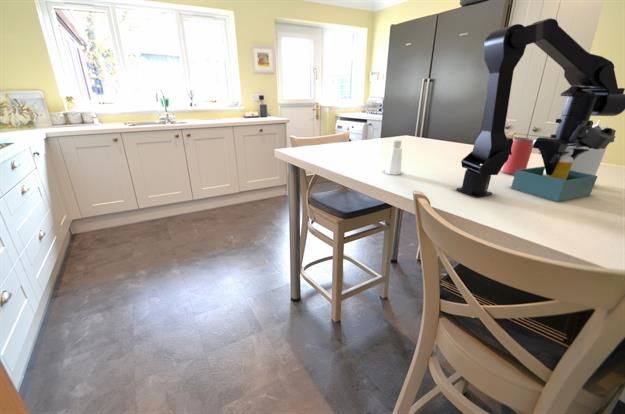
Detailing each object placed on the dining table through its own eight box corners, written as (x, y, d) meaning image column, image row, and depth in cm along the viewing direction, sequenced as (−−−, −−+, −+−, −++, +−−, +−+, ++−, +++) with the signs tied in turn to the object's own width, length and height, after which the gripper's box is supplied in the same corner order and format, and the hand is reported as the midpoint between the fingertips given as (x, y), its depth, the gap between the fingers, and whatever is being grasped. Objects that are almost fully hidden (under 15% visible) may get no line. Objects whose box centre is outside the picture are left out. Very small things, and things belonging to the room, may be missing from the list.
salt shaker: (398, 170, 100) (402, 139, 95) (403, 174, 95) (408, 141, 90) (383, 170, 99) (386, 138, 95) (387, 174, 94) (391, 141, 90)
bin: (557, 202, 73) (564, 181, 71) (510, 188, 83) (516, 169, 81) (589, 195, 79) (597, 176, 77) (542, 182, 89) (548, 165, 87)
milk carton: (559, 183, 89) (582, 120, 82) (561, 178, 94) (583, 119, 86) (590, 188, 84) (617, 122, 77) (590, 183, 89) (615, 120, 82)
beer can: (524, 177, 95) (536, 140, 90) (501, 173, 98) (511, 138, 94) (523, 172, 100) (534, 138, 96) (501, 170, 103) (511, 136, 99)
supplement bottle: (569, 186, 77) (582, 150, 73) (546, 184, 78) (559, 149, 74) (557, 180, 82) (569, 147, 78) (536, 179, 83) (547, 145, 79)
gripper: (594, 118, 63) (569, 185, 69) (635, 117, 70) (609, 178, 76) (540, 115, 72) (522, 174, 78) (581, 114, 79) (561, 168, 85)
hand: (554, 174), depth 79 cm, fingers closed on supplement bottle, 5 cm apart
